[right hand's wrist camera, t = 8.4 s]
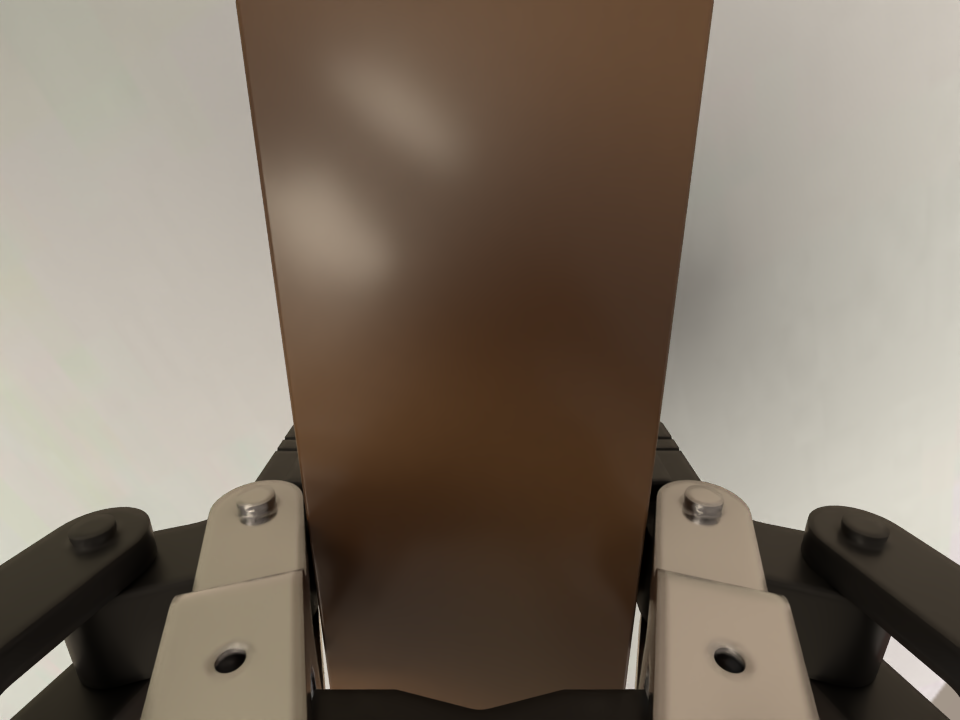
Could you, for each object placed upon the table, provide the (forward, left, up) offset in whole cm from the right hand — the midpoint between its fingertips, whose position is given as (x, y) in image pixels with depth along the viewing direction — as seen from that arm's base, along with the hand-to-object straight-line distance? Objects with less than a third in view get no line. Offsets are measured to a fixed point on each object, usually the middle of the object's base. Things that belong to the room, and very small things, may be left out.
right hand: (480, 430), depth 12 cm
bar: (+13, +14, -2) cm, 19 cm away
